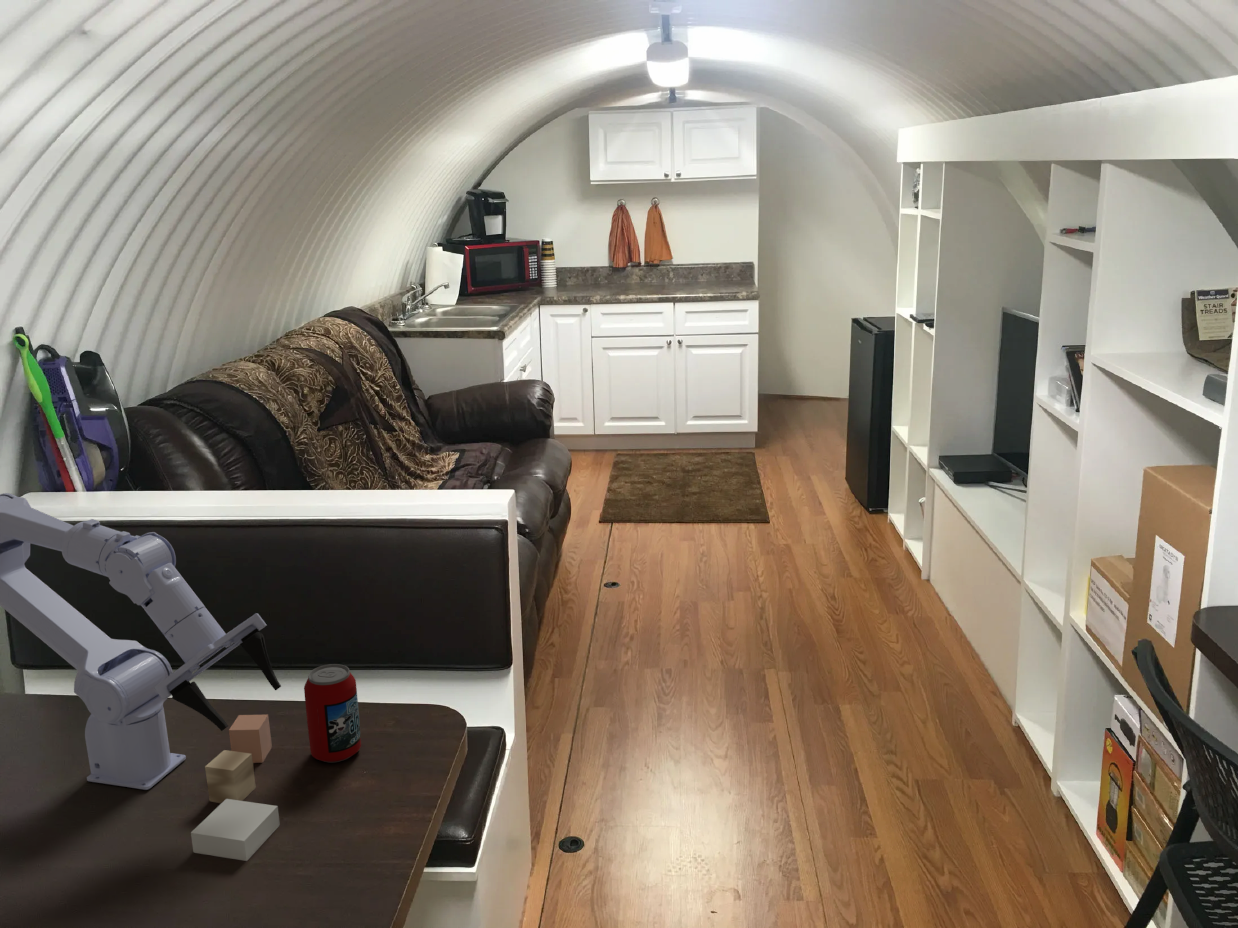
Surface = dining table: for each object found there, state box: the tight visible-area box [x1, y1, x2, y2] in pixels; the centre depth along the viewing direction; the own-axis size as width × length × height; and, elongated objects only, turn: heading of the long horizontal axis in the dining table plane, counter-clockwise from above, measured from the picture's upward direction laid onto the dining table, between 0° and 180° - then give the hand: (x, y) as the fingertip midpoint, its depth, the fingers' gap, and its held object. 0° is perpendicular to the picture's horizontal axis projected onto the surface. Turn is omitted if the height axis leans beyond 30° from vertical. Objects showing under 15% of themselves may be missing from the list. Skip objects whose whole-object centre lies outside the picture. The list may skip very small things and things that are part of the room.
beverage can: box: [303, 663, 362, 764], centre depth 140 cm, size 7×7×12 cm
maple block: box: [204, 749, 257, 804], centre depth 132 cm, size 4×4×5 cm
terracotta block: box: [228, 714, 273, 764], centre depth 141 cm, size 4×4×5 cm
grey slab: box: [190, 799, 281, 862], centre depth 124 cm, size 7×7×3 cm
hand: (252, 708), depth 129 cm, fingers open, 7 cm apart
